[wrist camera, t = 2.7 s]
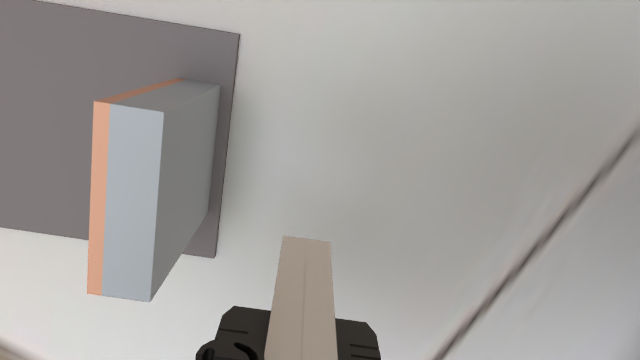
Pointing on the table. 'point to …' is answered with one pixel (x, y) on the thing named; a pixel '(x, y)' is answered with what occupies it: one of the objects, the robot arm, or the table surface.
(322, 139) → the table surface
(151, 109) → the slab
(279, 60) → the table surface
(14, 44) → the mat
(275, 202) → the table surface
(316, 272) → the robot arm
